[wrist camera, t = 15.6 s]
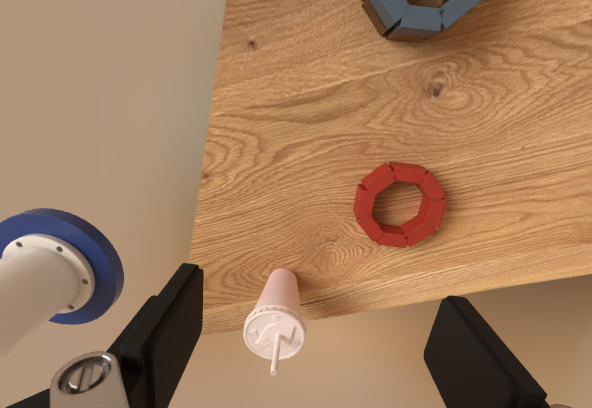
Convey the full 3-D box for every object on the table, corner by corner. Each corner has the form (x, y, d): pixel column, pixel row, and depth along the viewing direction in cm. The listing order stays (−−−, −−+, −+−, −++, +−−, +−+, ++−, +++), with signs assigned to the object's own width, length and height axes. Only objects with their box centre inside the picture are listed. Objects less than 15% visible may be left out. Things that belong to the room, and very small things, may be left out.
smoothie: (316, 287, 38) (319, 386, 25) (276, 308, 39) (259, 411, 26) (289, 250, 36) (277, 335, 23) (248, 273, 38) (216, 365, 25)
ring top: (348, 232, 35) (351, 241, 33) (362, 158, 32) (366, 162, 30) (424, 241, 35) (432, 251, 33) (445, 167, 32) (455, 172, 30)
